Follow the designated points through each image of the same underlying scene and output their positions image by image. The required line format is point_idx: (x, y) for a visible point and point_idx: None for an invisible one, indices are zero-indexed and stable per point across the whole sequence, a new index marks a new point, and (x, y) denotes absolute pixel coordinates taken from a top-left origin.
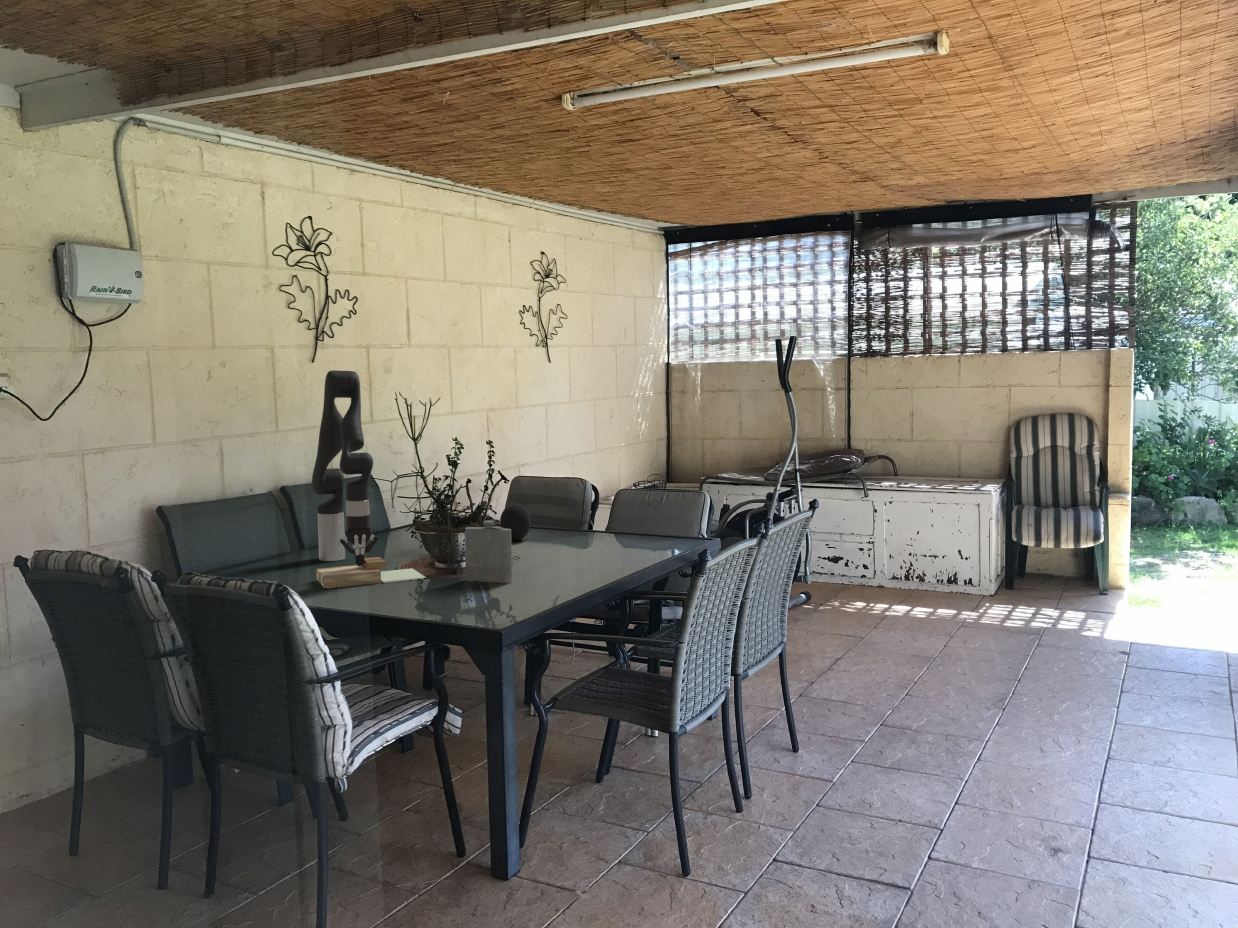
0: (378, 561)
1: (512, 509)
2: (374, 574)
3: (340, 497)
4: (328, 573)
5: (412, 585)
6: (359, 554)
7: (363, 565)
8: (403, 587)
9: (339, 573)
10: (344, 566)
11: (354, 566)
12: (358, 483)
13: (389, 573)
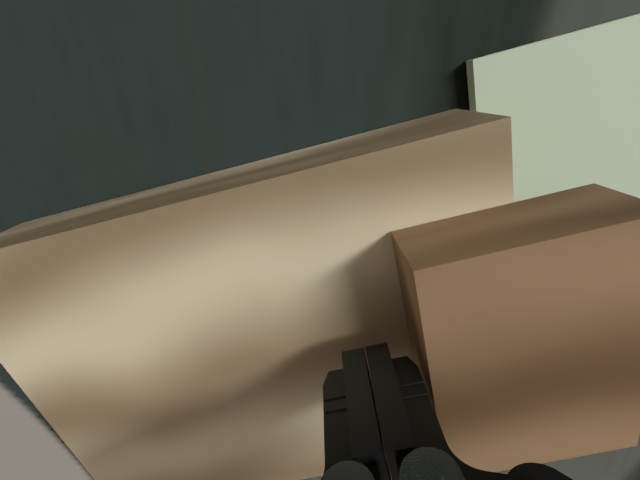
0: (565, 449)
1: None
2: None
3: None
4: (123, 446)
5: (624, 450)
6: (394, 476)
7: (407, 310)
8: (566, 474)
9: (210, 460)
10: (203, 213)
11: (312, 239)
12: None
13: (612, 152)
